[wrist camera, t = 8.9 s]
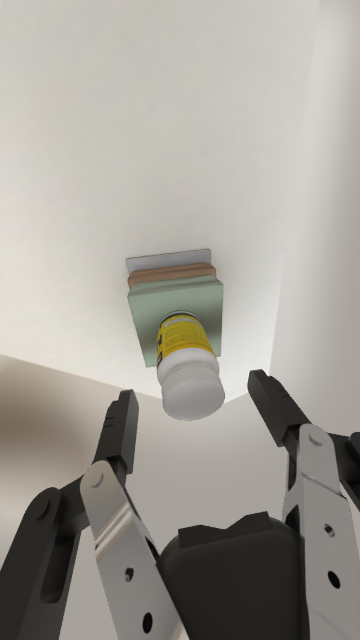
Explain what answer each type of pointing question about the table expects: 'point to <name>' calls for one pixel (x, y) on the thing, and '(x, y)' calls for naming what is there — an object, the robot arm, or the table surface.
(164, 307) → the brick tower
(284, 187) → the table surface
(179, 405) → the supplement bottle
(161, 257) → the baseplate
